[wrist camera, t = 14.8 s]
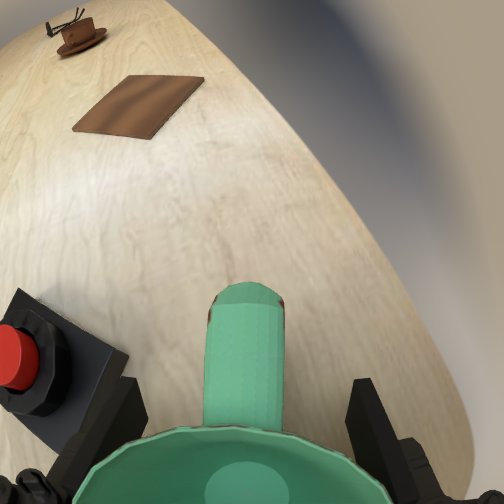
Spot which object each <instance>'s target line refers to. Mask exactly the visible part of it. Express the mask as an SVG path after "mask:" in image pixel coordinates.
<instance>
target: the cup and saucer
mask: <svg viewBox="0 0 504 504" xmlns="http://www.w3.org/2000/svg"><path fill="white" fill-rule="evenodd" d="M106 32H107V29H106V28H99V29H95V27H94V23H93V19H92V17H89V18H85V19H82V20H80V21H77V22H75V23H73V24H71V25H69V26H68V27H66V28H64V29H63V30H62V31H61V34H62V37H63V39H64V42H65V44H64V45H62V46H61V47H60V48H59V49H58V50H57V53H58V54H59V55H68V54H72V53H75V52H78V51H80V50H83V49H85V48H87V47H89V46H91V45H92V44H94V43H96V42H97V41H99V40H100V39H101V38H102V37H103V36H104V35H105V33H106Z"/></svg>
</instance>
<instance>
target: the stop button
mask: <svg viewBox="0 0 504 504" xmlns="http://www.w3.org/2000/svg"><path fill="white" fill-rule="evenodd" d="M38 369H39V353H38V349H37V346H36V344H35V342H34V341H33V339H32V338H31V337H30V336H28V335H27V334H25V333H23V332H21V331H19V330H17V329H15V328H13V327H12V326H9V325H0V385H1V386H4V387H8V388H11V389H15V390H24V389H27V388H28V387H30V386H31V385H32V383H33V382H34V380H35V378H36V376H37V373H38Z"/></svg>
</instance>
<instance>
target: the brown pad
mask: <svg viewBox="0 0 504 504" xmlns="http://www.w3.org/2000/svg"><path fill="white" fill-rule="evenodd" d="M203 81H204V77H194V76H171V75H129V76H127V77H126V78H125V79H124V80H123V81H121V82H120V83H119V84H118V85H117V86H116V87H114V88H113V89H112V90H111V91H110V92H109V93H108V94H107V95H105V96H104V97H103V98H102V99H101V100H100V101H99V102H98V103H97V104H96V105H95V106H94V107H93V108H92V109H91V110H89V111H88V112H87V113H86V114H85V115H84V116H83V117H82V118H81V119H80V120H79V121H78V122H77V123H76V124H75V125H74V127H73V128H72V130H73V131H78V132H89V133H100V134H110V135H118V136H127V137H135V138H143V139H151V138H152V137H153V136H154V134H155V133H156V132H157V131H158V130H159V129H160V127H161V126H162V125H163V124H164V123H165V122H166V121H167V119H168V118H169V117H170V116H171V115H172V114H173V113H174V112H175V111H176V109H177V108H178V107H179V106H180V105H181V104H182V103H183V102H184V101H185V100H186V99H187V98H188V97H189V96H190V95H191V94H192V93H193V91H194V90H195V89H196V88H197V87H198V86H199V85H200V84H201V83H202V82H203Z"/></svg>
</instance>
